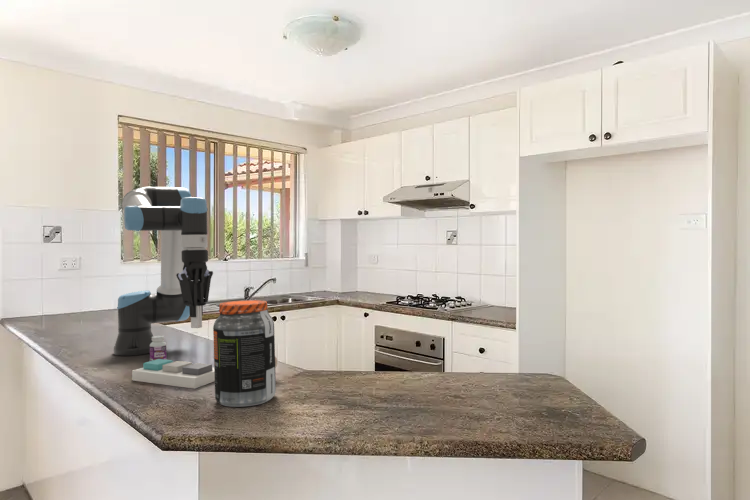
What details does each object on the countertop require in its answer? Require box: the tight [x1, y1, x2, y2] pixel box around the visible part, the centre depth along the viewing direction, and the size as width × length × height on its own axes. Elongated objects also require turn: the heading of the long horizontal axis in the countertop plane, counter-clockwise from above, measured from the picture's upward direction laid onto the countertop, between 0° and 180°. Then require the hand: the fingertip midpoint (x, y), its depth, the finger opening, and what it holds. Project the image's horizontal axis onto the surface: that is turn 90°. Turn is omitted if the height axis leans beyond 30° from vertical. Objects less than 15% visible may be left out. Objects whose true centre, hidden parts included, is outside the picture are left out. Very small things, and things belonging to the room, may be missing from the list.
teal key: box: [142, 359, 174, 371], centre depth 161 cm, size 6×6×3 cm
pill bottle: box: [149, 335, 168, 361], centre depth 178 cm, size 5×5×10 cm
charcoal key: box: [182, 362, 213, 375], centre depth 154 cm, size 6×6×3 cm
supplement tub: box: [212, 299, 277, 408], centre depth 136 cm, size 16×16×26 cm
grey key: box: [163, 360, 193, 373], centre depth 158 cm, size 6×6×3 cm
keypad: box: [131, 366, 215, 389], centre depth 158 cm, size 12×25×3 cm, turn 66°
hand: (196, 327), depth 154 cm, fingers closed
